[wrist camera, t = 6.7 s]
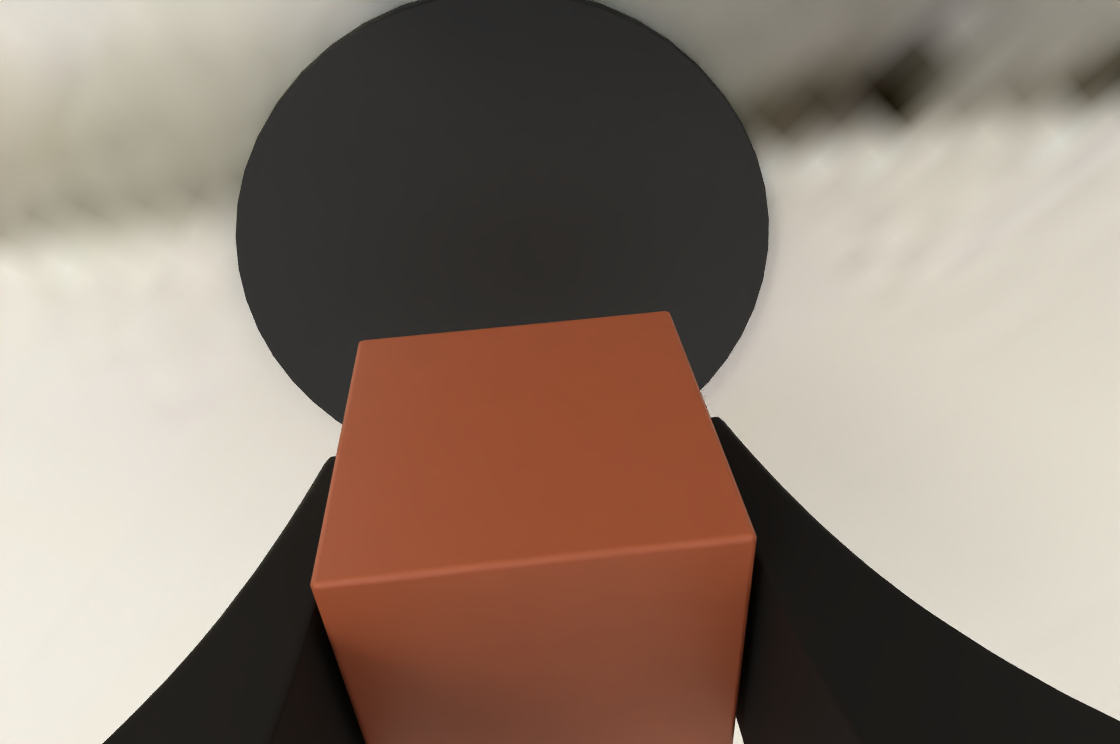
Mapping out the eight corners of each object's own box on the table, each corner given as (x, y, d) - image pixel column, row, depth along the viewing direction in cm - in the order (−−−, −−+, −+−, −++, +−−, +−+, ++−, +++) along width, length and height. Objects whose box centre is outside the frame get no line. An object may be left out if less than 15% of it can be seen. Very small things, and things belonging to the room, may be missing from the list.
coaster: (821, 4, 16) (828, 9, 16) (715, 460, 23) (718, 470, 23) (193, -32, 15) (186, -29, 15) (276, 464, 22) (273, 473, 22)
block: (670, 308, 12) (760, 537, 8) (664, 527, 15) (731, 776, 11) (357, 339, 12) (306, 586, 8) (408, 555, 15) (388, 817, 11)
